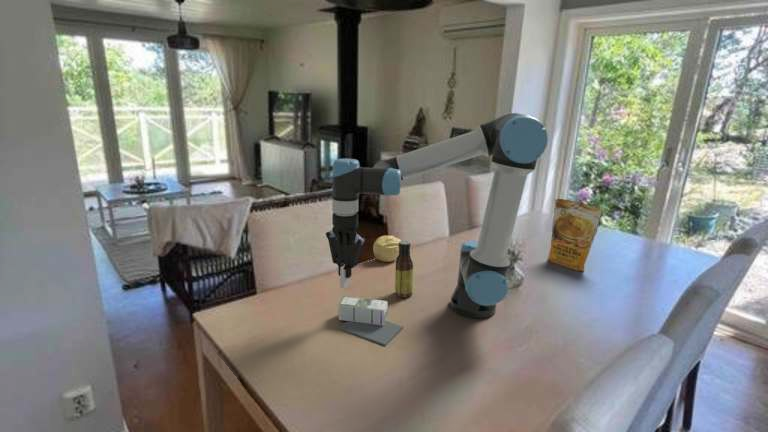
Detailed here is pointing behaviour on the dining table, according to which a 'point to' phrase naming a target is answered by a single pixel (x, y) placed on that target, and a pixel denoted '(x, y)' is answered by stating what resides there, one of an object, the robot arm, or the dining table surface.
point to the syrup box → (363, 310)
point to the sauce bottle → (404, 271)
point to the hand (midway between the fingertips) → (344, 286)
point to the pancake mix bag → (573, 233)
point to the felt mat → (373, 331)
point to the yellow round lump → (386, 248)
